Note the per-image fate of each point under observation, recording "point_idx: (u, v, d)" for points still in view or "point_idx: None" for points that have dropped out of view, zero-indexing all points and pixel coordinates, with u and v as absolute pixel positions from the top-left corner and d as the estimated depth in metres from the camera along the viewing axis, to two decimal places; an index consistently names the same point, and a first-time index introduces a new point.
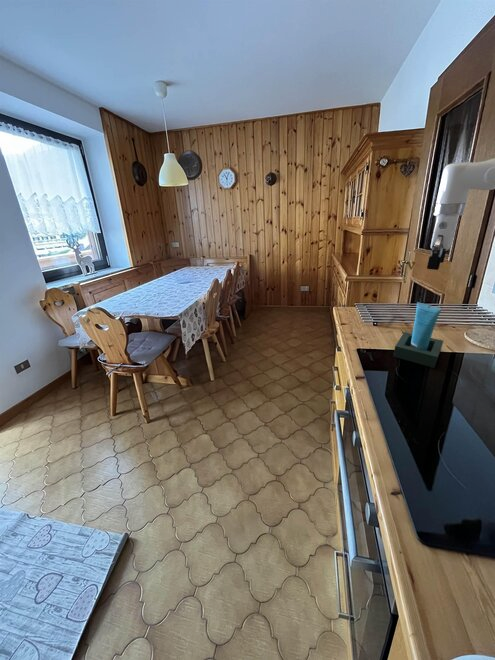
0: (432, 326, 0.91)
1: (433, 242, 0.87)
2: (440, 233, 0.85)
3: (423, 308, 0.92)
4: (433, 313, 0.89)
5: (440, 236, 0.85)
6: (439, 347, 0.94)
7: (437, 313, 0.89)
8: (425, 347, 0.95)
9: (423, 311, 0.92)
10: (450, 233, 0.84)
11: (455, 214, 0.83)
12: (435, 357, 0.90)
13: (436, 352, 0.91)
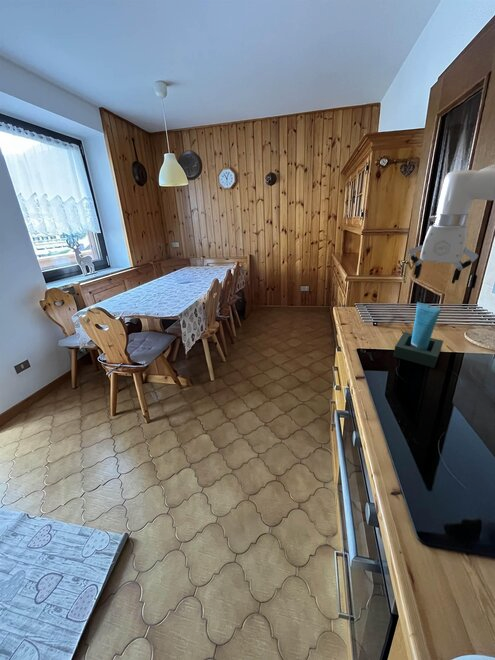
0: (432, 326, 0.91)
1: None
2: None
3: (423, 308, 0.92)
4: (433, 313, 0.89)
5: (423, 244, 0.85)
6: (439, 347, 0.94)
7: (437, 313, 0.89)
8: (425, 347, 0.95)
9: (423, 311, 0.92)
10: (424, 243, 0.83)
11: (435, 225, 0.80)
12: (435, 357, 0.90)
13: (436, 352, 0.91)
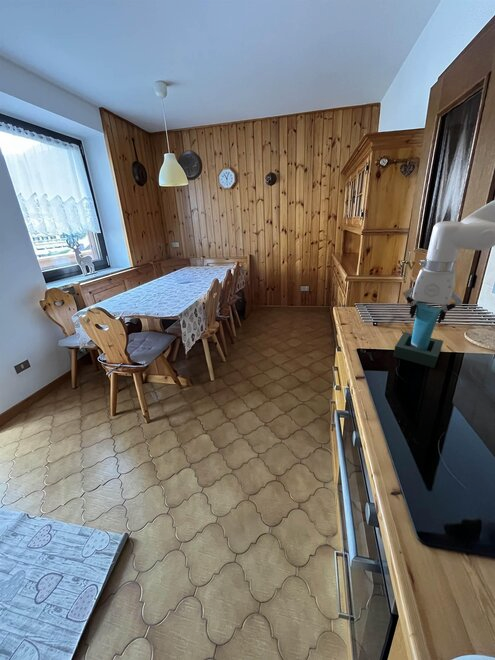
0: (432, 326, 0.91)
1: None
2: None
3: (423, 308, 0.92)
4: (433, 313, 0.89)
5: (415, 286, 0.91)
6: (439, 347, 0.94)
7: (437, 314, 0.89)
8: (425, 347, 0.95)
9: (424, 311, 0.92)
10: (415, 284, 0.89)
11: (425, 269, 0.85)
12: (435, 357, 0.90)
13: (436, 352, 0.91)
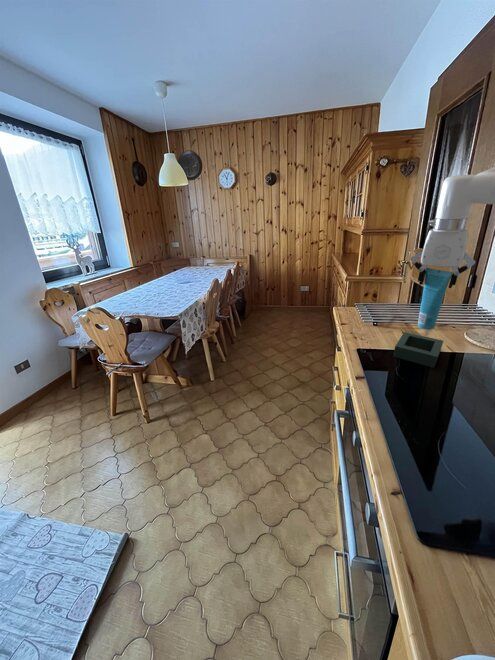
0: (442, 292, 0.86)
1: None
2: None
3: (433, 273, 0.87)
4: (444, 278, 0.84)
5: None
6: (439, 347, 0.94)
7: (448, 278, 0.83)
8: (435, 316, 0.89)
9: (433, 277, 0.86)
10: (424, 247, 0.83)
11: (435, 229, 0.80)
12: (435, 357, 0.90)
13: (436, 352, 0.91)
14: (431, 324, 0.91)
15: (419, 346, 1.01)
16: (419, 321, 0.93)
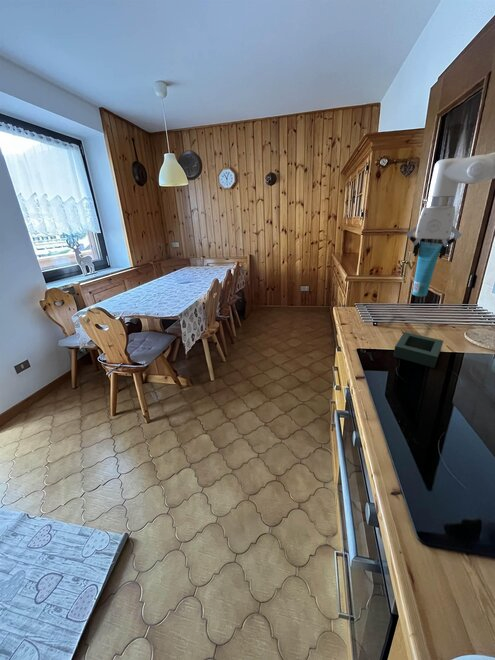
0: (433, 262, 0.99)
1: None
2: None
3: (425, 246, 1.00)
4: (435, 249, 0.97)
5: None
6: (439, 347, 0.94)
7: (438, 249, 0.97)
8: (427, 284, 1.03)
9: (426, 249, 1.00)
10: (418, 222, 0.96)
11: (427, 206, 0.93)
12: (435, 357, 0.90)
13: (436, 352, 0.91)
14: (424, 291, 1.04)
15: (419, 346, 1.01)
16: (413, 289, 1.06)
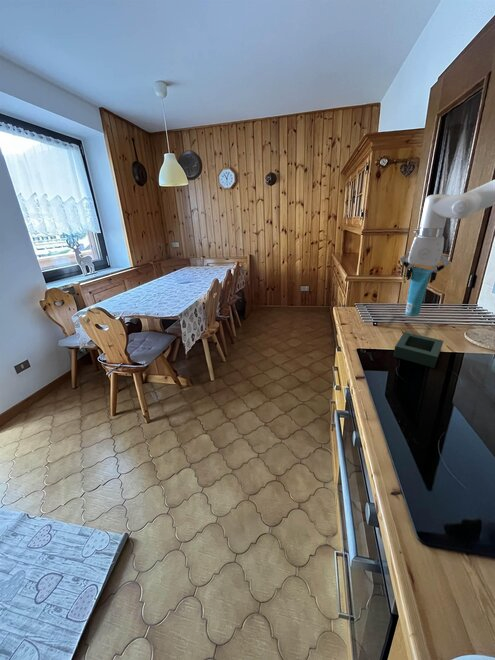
0: (425, 286, 1.07)
1: None
2: None
3: (417, 271, 1.08)
4: (426, 274, 1.06)
5: None
6: (439, 347, 0.94)
7: (429, 274, 1.05)
8: (419, 305, 1.11)
9: (418, 273, 1.08)
10: (410, 250, 1.05)
11: (419, 236, 1.02)
12: (435, 357, 0.90)
13: (436, 352, 0.91)
14: (416, 312, 1.12)
15: (419, 346, 1.01)
16: (406, 310, 1.15)
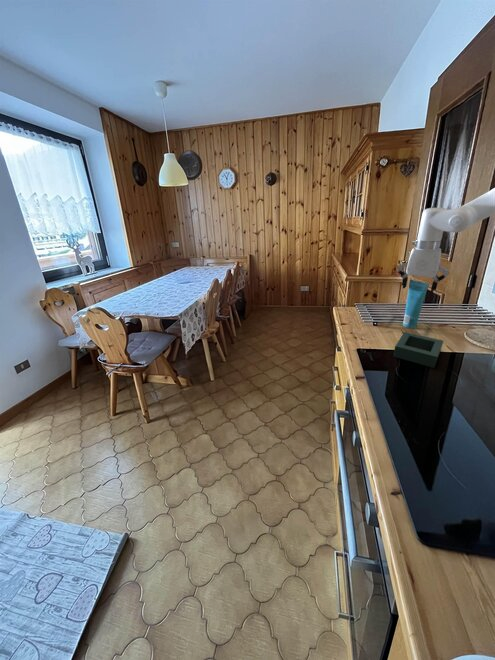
0: (421, 299, 1.10)
1: None
2: None
3: (414, 284, 1.10)
4: (422, 288, 1.08)
5: (408, 262, 1.09)
6: (439, 347, 0.94)
7: (425, 288, 1.07)
8: (416, 317, 1.13)
9: (415, 287, 1.10)
10: (408, 261, 1.07)
11: (416, 248, 1.04)
12: (435, 357, 0.90)
13: (436, 352, 0.91)
14: (413, 324, 1.15)
15: (419, 346, 1.01)
16: (404, 321, 1.17)
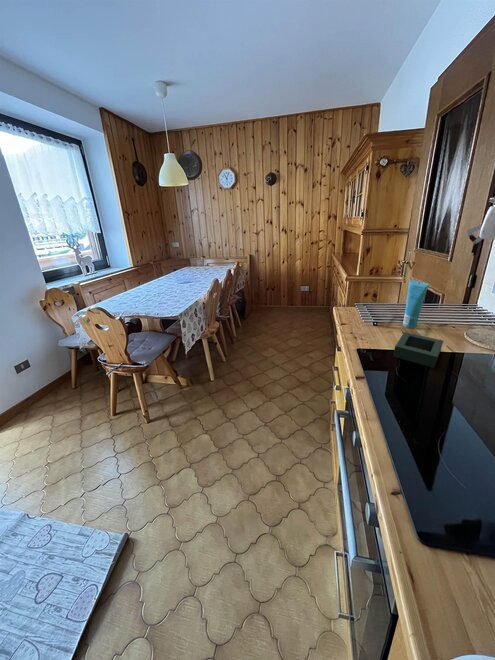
0: (421, 299, 1.10)
1: None
2: None
3: (414, 284, 1.10)
4: (422, 288, 1.08)
5: (482, 224, 0.94)
6: (439, 347, 0.94)
7: (425, 288, 1.07)
8: (416, 317, 1.13)
9: (415, 287, 1.10)
10: (484, 222, 0.92)
11: None
12: (435, 357, 0.90)
13: (436, 352, 0.91)
14: (413, 324, 1.15)
15: (419, 346, 1.01)
16: (404, 321, 1.17)
